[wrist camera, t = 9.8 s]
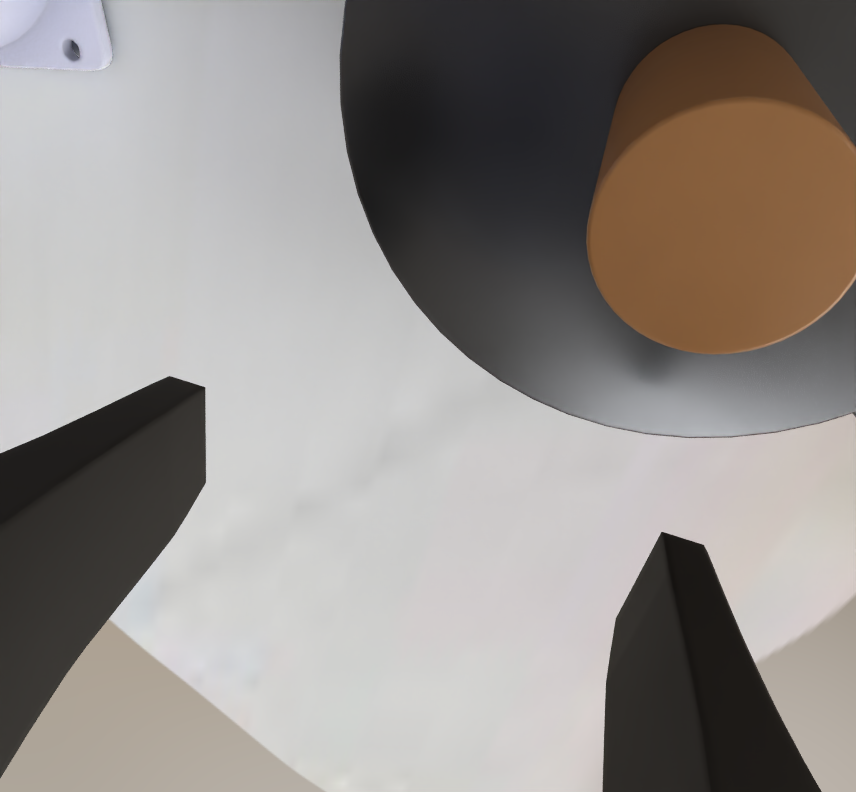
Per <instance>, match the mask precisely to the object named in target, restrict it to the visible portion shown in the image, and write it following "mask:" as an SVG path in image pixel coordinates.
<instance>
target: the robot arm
mask: <svg viewBox="0 0 856 792" xmlns="http://www.w3.org/2000/svg"><path fill="white" fill-rule="evenodd" d="M72 40H73V41H74V42H75V43H76V44H77V45H78V47H79V50H80V57H78V56H77V55H76V54H75V53H74V51H73V48H72ZM112 59H113V50H112V45H111V41H110V36H109V32H108V28H107V23H106V19H105V14H104V10H103V6H102V1H101V0H0V67H15V68H37V69H59V70H81V71H97V70H101V69H104V68H107V67H108V66H109V65H110V64H111V62H112ZM205 483H206V436H205V387H202V386H199V385H196V384H193V383H190V382H186V381H183V380H180V379H177V378H174V377H171V376H169V377H167V378H164V379H162V380H160V381H157V382H155V383H153V384H151V385H149V386H147V387H145V388H142V389H140V390H138V391H136V392H134V393H132V394H130V395H128V396H126V397H124V398H122V399H120V400H117V401H115V402H113V403H111V404H109V405H107V406H105V407H103V408H101V409H99V410H97V411H95V412H92V413H90V414H88V415H86V416H84V417H82V418H80V419H77V420H75V421H73V422H71V423H69V424H67V425H65V426H62V427H60V428H58V429H56V430H54V431H52V432H50V433H47V434H45V435H43V436H41V437H39V438H36V439H34V440H31V441H29V442H27V443H24V444H22V445H19V446H17V447H15V448H12V449H10V450H8V451H5V452H3V453H0V778H1V776H2V775H3V773H4V771H5V770H6V768H7V766H8V765H9V763H10V762H11V760H12V758H13V757H14V755H15V754H16V752H17V750H18V749H19V747H20V745H21V744H22V742H23V740H24V739H25V737H26V735H27V734H28V732H29V731H30V729H31V728H32V726H33V724H34V723H35V722H36V720H37V718H38V717H39V715H40V714H41V712H42V711H43V709H44V708H45V706H46V705H47V703H48V701H49V700H50V698H51V697H52V695H53V693H54V692H55V691H56V689H57V688H58V686H59V684H60V683H61V681H62V680H63V678H64V677H65V675H66V673H67V672H68V671H69V670H70V668H71V667H72V665H73V664H74V663H75V661H76V660H77V658H78V657H79V656H80V654H81V653H82V652H83V650H84V649H85V648H86V646H87V645H88V644H89V643H90V641H91V640H92V639H93V638H94V636H95V635H96V634H97V633H98V631H99V630H100V629H101V628H102V626H103V625H104V624H105V623H106V621H107V620H108V619H109V618H110V616H111V615H112V614H113V613H114V611H115V610H116V609H117V607H118V606H119V605H120V604H121V602H122V601H123V600H124V599H125V597H126V596H127V595H128V594H129V592H130V591H131V590H132V589H133V587H134V586H135V585H136V584H137V582H138V581H139V580H140V579H141V577H142V576H143V575H144V574H145V572H146V571H147V570H148V568H149V567H150V566H151V565H152V563H153V562H154V561H155V560H156V558H157V557H158V556H159V554H160V553H161V552H162V551H163V549H164V548H165V547H166V545H167V544H168V543H169V542H170V540H171V539H172V538H173V536H174V535H175V533H176V532H177V530H178V528H179V527H180V525H181V524H182V522H183V520H184V519H185V517H186V516H187V514H188V512H189V511H190V509H191V507H192V505H193V504H194V502H195V500H196V499H197V497H198V495H199V493H200V492H201V490H202V488H203V486H204V485H205ZM603 792H821V790H820V788H819V787H818V785H817V783H816V781H815V780H814V778H813V776H812V774H811V773H810V771H809V769H808V767H807V765H806V764H805V762H804V760H803V758H802V756H801V754H800V753H799V751H798V749H797V747H796V745H795V743H794V741H793V739H792V738H791V736H790V734H789V732H788V730H787V728H786V727H785V725H784V723H783V721H782V719H781V717H780V715H779V713H778V711H777V709H776V707H775V705H774V703H773V701H772V699H771V697H770V695H769V693H768V691H767V688H766V686H765V684H764V682H763V680H762V678H761V675H760V673H759V672H758V669H757V667H756V665H755V663H754V661H753V658H752V656H751V654H750V652H749V650H748V648H747V645H746V643H745V641H744V639H743V636H742V634H741V632H740V630H739V627H738V625H737V623H736V620H735V618H734V616H733V613H732V611H731V608H730V606H729V604H728V601H727V599H726V596H725V594H724V592H723V589H722V587H721V584H720V582H719V579H718V577H717V574H716V572H715V569H714V567H713V564H712V562H711V560H710V557H709V555H708V552H707V550H706V549H705V547H704V545H702V544H699V543H696V542H692V541H689V540H686V539H683V538H680V537H677V536H674V535H670V534H667V533H664V532H661V534H660V536H659V538H658V540H657V542H656V544H655V546H654V548H653V549H652V551H651V553H650V555H649V557H648V559H647V561H646V563H645V565H644V566H643V568H642V570H641V572H640V574H639V576H638V578H637V580H636V582H635V583H634V585H633V587H632V589H631V591H630V593H629V595H628V597H627V599H626V600H625V602H624V604H623V606H622V608H621V610H620V612H619V614H618V616H617V618H616V622H615V628H614V634H613V640H612V646H611V652H610V659H609V666H608V673H607V680H606V699H605V729H604V763H603Z"/></svg>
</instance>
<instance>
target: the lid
mask: <svg viewBox="0 0 856 792" xmlns="http://www.w3.org/2000/svg"><path fill="white" fill-rule="evenodd" d="M340 98H341V111H342V118H343V126H344V133H345V141H346V148H347V153H348V157H349V161H350V165H351V169H352V173H353V177H354V181H355V185H356V189H357V193H358V196H359V198H360V201H361V204H362V206H363V209H364V211H365V214H366V217H367V219H368V222H369V224H370V227H371V230H372V232H373V234H374V236H375V238H376V240H377V242H378V244H379V246H380V248H381V250H382V252H383V254H384V255H385V257H386V259H387V261H388V263H389V265H390V267H391V269H392V270H393V272H394V273H395V275H396V276H397V278H398V279H399V281H400V282H401V284H402V285H403V286H404V288H405V289H406V291H407V292H408V294H409V295H410V297H411V298H412V300H413V301H414V303H415V304H416V305H417V306H418V307H419V308H420V309H421V311H422V312H423V313H424V314H425V315H426V316H427V317H428V319H429V320H430V321H431V322H432V323H433V324H434V326H435V327H436V328H437V329H438V330H439V331H440V332H441V333H442V334H443V335H444V336H445V337H446V338H447V339H448V340H449V341H451V342H452V343H453V344H454V345H455V346H456V347H457V348H458V349H459V350H460V351H462V352H463V353H464V354H465V355H466V356H467V357H468V358H469V359H471V360H472V361H474V362H475V363H476V364H478V365H479V366H480V367H482V368H483V369H485V370H486V371H487V372H489V373H490V374H492V375H493V376H494V377H496V378H497V379H498V380H500V381H502V382H503V383H505V384H507V385H509V386H510V387H512V388H514V389H516V390H518V391H519V392H521V393H523V394H525V395H526V396H528V397H530V398H532V399H534V400H536V401H538V402H541V403H543V404H545V405H548V406H550V407H552V408H555V409H557V410H559V411H562V412H564V413H566V414H569V415H572V416H575V417H578V418H582V419H585V420H588V421H591V422H595V423H598V424H601V425H604V426H608V427H613V428H618V429H623V430H629V431H634V432H639V433H644V434H652V435H663V436H674V437H685V438H714V437H738V436H748V435H757V434H766V433H775V432H780V431H785V430H790V429H794V428H799V427H804V426H809V425H814V424H818V423H822V422H826V421H829V420H832V419H835V418H838V417H842V416H845V415H848V414H851V413H854V412H856V0H346V1H345V8H344V18H343V28H342V38H341V48H340Z"/></svg>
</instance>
